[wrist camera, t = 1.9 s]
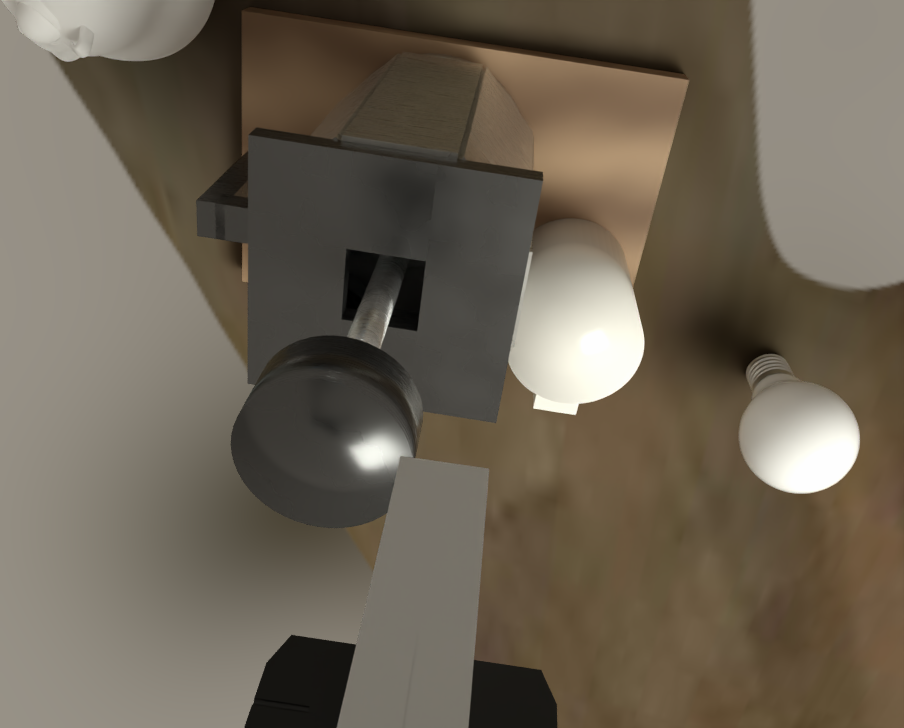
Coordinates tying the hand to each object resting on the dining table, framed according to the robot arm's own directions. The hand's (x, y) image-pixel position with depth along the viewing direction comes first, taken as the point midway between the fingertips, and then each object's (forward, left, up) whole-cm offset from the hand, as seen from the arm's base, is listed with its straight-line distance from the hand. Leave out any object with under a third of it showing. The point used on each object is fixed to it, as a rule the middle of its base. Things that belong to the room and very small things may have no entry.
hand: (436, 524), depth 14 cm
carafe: (+4, -5, -35) cm, 36 cm away
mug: (+10, +6, -35) cm, 37 cm away
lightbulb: (+15, +20, -37) cm, 45 cm away
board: (+6, -2, -37) cm, 37 cm away
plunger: (+4, -3, -25) cm, 25 cm away
